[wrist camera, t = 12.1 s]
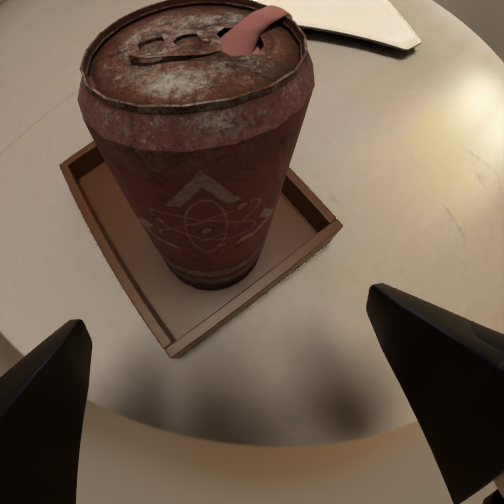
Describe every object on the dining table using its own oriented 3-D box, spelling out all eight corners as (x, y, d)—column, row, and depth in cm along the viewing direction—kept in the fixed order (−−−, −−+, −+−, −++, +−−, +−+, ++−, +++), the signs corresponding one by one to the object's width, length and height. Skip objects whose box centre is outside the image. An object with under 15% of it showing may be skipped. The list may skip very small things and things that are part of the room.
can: (284, 237, 19) (371, 40, 6) (213, 312, 17) (171, 176, 4) (214, 179, 20) (209, -24, 7) (143, 244, 18) (35, 60, 5)
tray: (330, 241, 20) (343, 225, 18) (178, 358, 17) (170, 358, 14) (201, 105, 23) (199, 82, 21) (72, 183, 20) (58, 164, 18)
